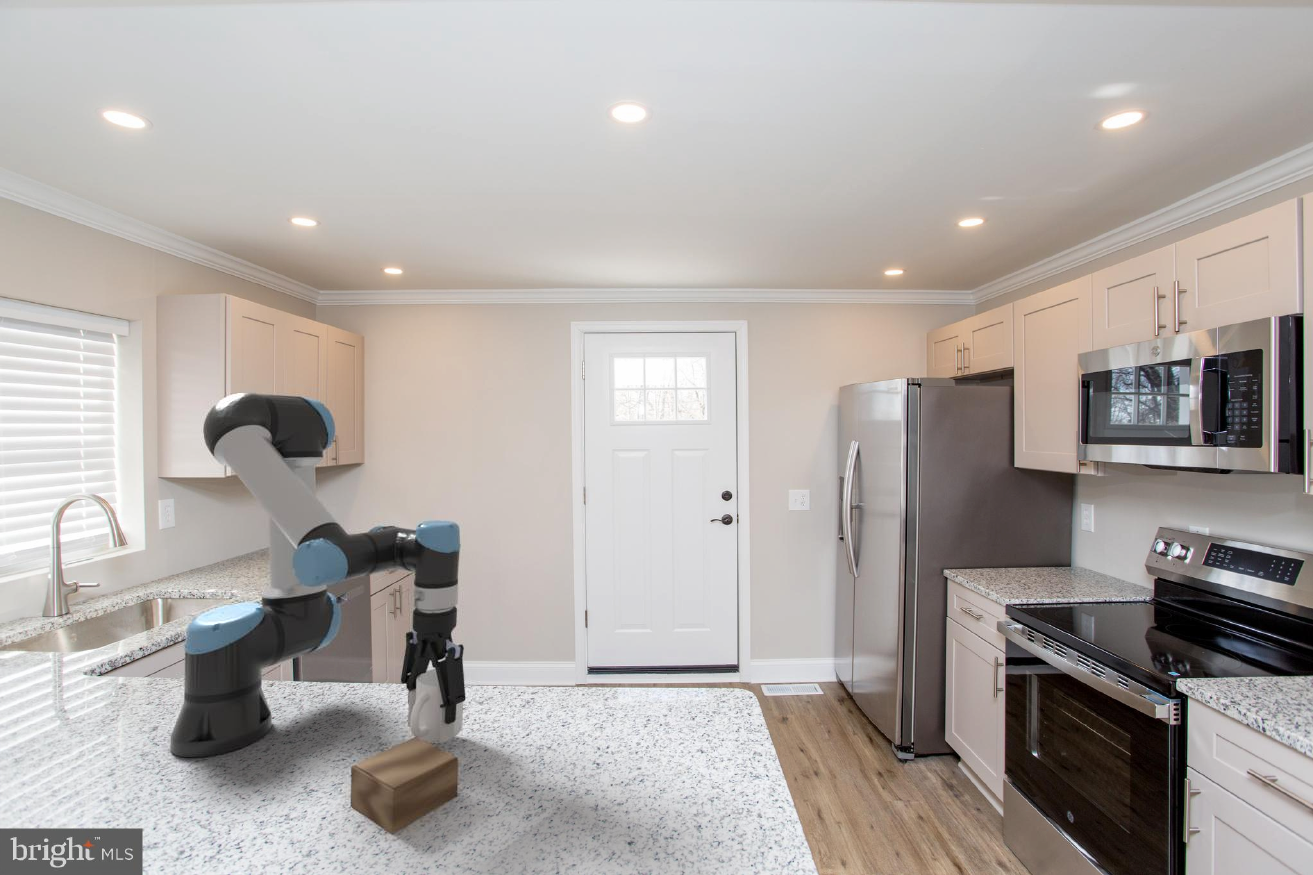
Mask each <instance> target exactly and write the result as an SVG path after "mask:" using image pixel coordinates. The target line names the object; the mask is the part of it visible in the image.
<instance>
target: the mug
mask: <svg viewBox="0 0 1313 875" xmlns="http://www.w3.org/2000/svg"><path fill="white" fill-rule="evenodd" d="M441 704H443V701H442V696H441V692H440V687H439V683H438V678H437V673H436V669H435V668H433V669H430V670H428V669H427V671H426V673H423V674H420V675H419V676H418V677H417V680H416V702H415V704H414V707H413V710H412V713H411V719H410V727H409V728H410V732H411V734H412V736H414V737H417V738H419V739H421V740H423V741H425V742H427V743H429V744H431V743H434V744H435V743H439V742H438V732H439V707H440V705H441ZM463 717H464V701H463V702H461V703H458V704H457V705H456V720H455V722H454V737H453V738H455V737H457V735H458V734H459V733H460V732H461V730H462V728H463V719H464V718H463Z"/></svg>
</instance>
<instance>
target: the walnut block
mask: <svg viewBox="0 0 1313 875" xmlns="http://www.w3.org/2000/svg"><path fill="white" fill-rule="evenodd" d="M350 768H351V769H350V770H351V772H350V774H351V775H350V807H351V808H352V809H353V810H355V811H356V812H358V813H360V814H361V815H363V816H364V817H366V818H367V819H368V820H370V821H371V822H373V823H375V824H376V825H377V826H380V827H381V828H382V829H384V830H385V831H386V832H388V833H390V834H391V835H394V834H396V833H397V832H399V831H401V830H403V829H404V828H405V827H407V826H409V825H411V824H413V823H414V822H416V821H418V820H420V819H421V818H423V817H424V816H426V815H427V814H429V813H431V812H433V811H435V810H436V809H438V808H439V807H441V806H443V805H445V804H446V803H449V802H450V801H452V800H454V799H455V798H457V797H458V790H459V789H458V787H459V786H458V784H459V780H458V779H459V778H458V777H459V758H458V757H457V756H455V755H454V754H452V753H449V752H447V751H446V750H443V749H441V748H439V747H437V746H436V745H434V744H431V743H430V742H425V741H423V740H421V739H419V738H417V737H415V736H414V737H413V738H410V739H408V740H405V741H403V742H400V743H399V744H396V745H395V746H392V747H390V748H388V749H386V750H384V751H382V752H379V753H376V754H375V755H372V756H370V757H368V758H366V759H363V760H361V761H359V762H356V763H355V764H354V765H352V766H350Z"/></svg>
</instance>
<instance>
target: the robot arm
mask: <svg viewBox="0 0 1313 875" xmlns="http://www.w3.org/2000/svg"><path fill="white" fill-rule="evenodd" d="M203 422H204V423H203V430H202V432H203V439H204V442H205V445H206V447H207V449H208V451H209V453H211V455H212V456H213V458H214V459H215V460H216V461H217V462H218V463H219V464H221V465H222V466H225V467H228V468H230V469H231V470H232V471H233V472H234V473H235V475H236V476H237V477H238V478H239V480H240V481H241V482H242V483H243V486H245V487H246V489H247V490H248V491H249V492H250V493H251V495H252V496H253V497H254V499H255V500H256V501H257V502H258V504H259V505H260V506H261V507H262V509H263V510H264V511H265V512H266V513H267V515H268V542H269V543H268V544H269V545H268V546H269V547H268V548H269V551H268V552H269V578H270V579H269V581H270V583H269V584H270V585H269V587H268V588H267V589H266V590H265V591H264V592H263V593H262V594H261V603H258V602H251V601H247V602H238V603H235V604H227V605H222V606H219V607H218V606H217V607H215V608H213V609H210V610H207V611H205V612H203V613H201V614H199V615H198V616H195V618H194V619H192V620H191V622H190V623H189V624H188V625H187V627H186V628H187V629H186V634H185V641H184V645H183V649H184V683H183V685H184V687H183V688H184V692H183V693H184V696H183V698H184V699H183V704H182V706H181V709H180V711H179V714H178V717H177V720H176V721H175V724H174V727H173V728H172V729H173V730H172V732H171V735H170V745H169V746H170V748H169V749H170V752H171V753H172V754H174V755H175V756H178V757H184V758H201V757H202V758H205V757H209V756H210V757H212V756H216V755H221V754H224V753H229V752H232V751H235V750H239V749H241V748H243V747H246V746H248V745H251V744H254V743H255V742H257V741H258V740H260V739H262V738H263V737H264V736H266V735H267V734H268V733H269V732H270V730H271V729H272V720H273V719H272V711H271V708H270V707H269V704H268V701H267V698H266V696H265V693H264V690H263V688H262V686H263V685H262V683H263V682H262V680H263V679H262V678H263V676H262V675H263V669H265V668H268V667H272V666H275V665H277V664H281V663H284V662H286V661H289V660H293V659H295V658H299V657H301V656H307V655H309V654H312V653H314V652H315V651H317V650H320V649H322V648H325V647H326V646H328V645H329V644H330V643H331V641H333V639H335V637H336V636H337V634H338V631H339V629H340V626H341V621H342V620H341V619H342V613H341V612H342V611H341V607H340V603H338V602H337V601H338V599H337V598H336V596H335V595H333V594H332V593H330V592H328V586H327V585H330V586H331V585H336V584H338V583H340V582H344V581H349V580H353V579H357V578H360V577H366V576H371V575H374V574H378V573H383V572H387V571H390V570H402V571H407V572H413V573H414V579H413V581H414V582H413V585H414V588H413V589H414V591H413V593H414V594H413V607H414V610H413V611H412V624H411V625H412V627H411V628H412V631H408V632H406V633H405V643H406V645H405V652H404V658H403V662H402V663H403V664H402V670H401V675H400V683H402V684H405V685H406V687H405V688H406V689H407V690H408V694H407V695H408V696H407V704H408V711H407V712H408V715H407V719H408V720H407V727H409V728H410V719H411V713H412V710H413V707H414V704H415V702H416V680H417V677H418V676H419V675H420V674H423V673H426V671H428V668H429V665H430V662H431V666H432V668H433V669H436V673H437V678H438V683H439V687H440V692H441V696H442V701H443V704H441V705H440V707H439V732H438V742H437V743H439V744H442V743H445V742H447V741H449V740H451V739H453V738H455V737H454V722H455V720H456V705H457V704H458V703H461V702H463V703H464V702H465V701H466V687H465V686H466V685H465V673H464V672H465V671H464V664H463V663H464V661H463V656H464V649H465V648H464V645H463V644H462V643H461V644H458V645H456V644H455V643H453V638H452V632H453V631H454V629H455V628H456V627H457V622H458V620H457V617H458V608H457V607H456V605H458V602H459V600H458V599H459V563H460V550H461V546H462V545H461V540H460V539H461V537H460V533H461V532H460V526H459V524H458V523H456V522H455V521H450V520H427V521H422V522H420V523H418V524H417V525H416V529H411V528H404V527H399V526H396V525H388V526H387V525H386V526H385V525H384V526H383V525H377V526H375V527H374V526H373V528H371V529H370V530H368V531H367V532H360V533H353V534H349V533H347V532H346V530H345V529H344V527H342V526H341V524H339V522H338V521H337V520H336V519H335V518H334V517H333V515H332V514H331V513H330V512H329V511H328V509H327V508H326V507H325V506H324V505H323V503H322V502H321V501H320V500H319V499H318V497H317V488H316V487H317V485H316V482H317V481H316V467H317V465H318V464H319V463H321V462H322V461H323V459H324V452H325V451H326V450H327V449H329V448H330V447H331V446H332V444H333V442H332V441H334V439H335V436H336V424H335V421H334V417H333V414H332V413H331V411H330V410H329V408H328V407H326V406H325V404H324V403H322V402H321V401H319V400H317V399H314V398H309V397H302V396H295V395H280V394H278V395H277V394H265V393H256V392H255V393H253V392H241V393H234V394H231V395H229V396H226V397H224V398H222V399H221V400H219V401H218V402H216V404H214V405H213V407H211V409H210V410H209V412H208V413H207V415H206V417H205V419H204V421H203ZM444 658H445V659H444ZM440 660H441V661H440Z"/></svg>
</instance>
